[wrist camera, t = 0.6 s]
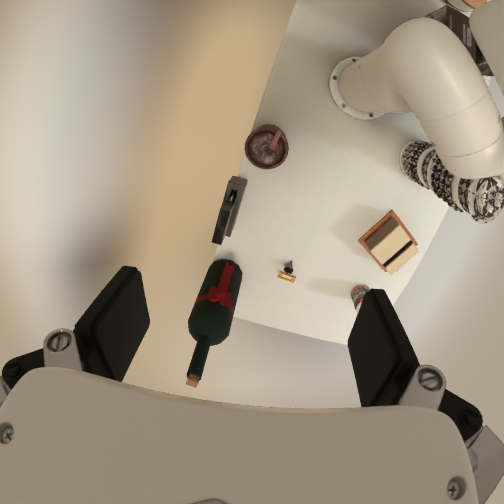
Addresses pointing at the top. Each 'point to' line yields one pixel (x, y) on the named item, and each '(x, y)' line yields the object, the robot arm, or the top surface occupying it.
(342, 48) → the top surface
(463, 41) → the coffee box
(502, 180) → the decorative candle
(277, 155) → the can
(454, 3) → the trinket box
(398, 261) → the slice
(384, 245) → the slotted block stand
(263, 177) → the top surface
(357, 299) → the pill bottle
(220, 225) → the knife
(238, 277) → the wine bottle
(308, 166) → the top surface
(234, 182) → the knife block
